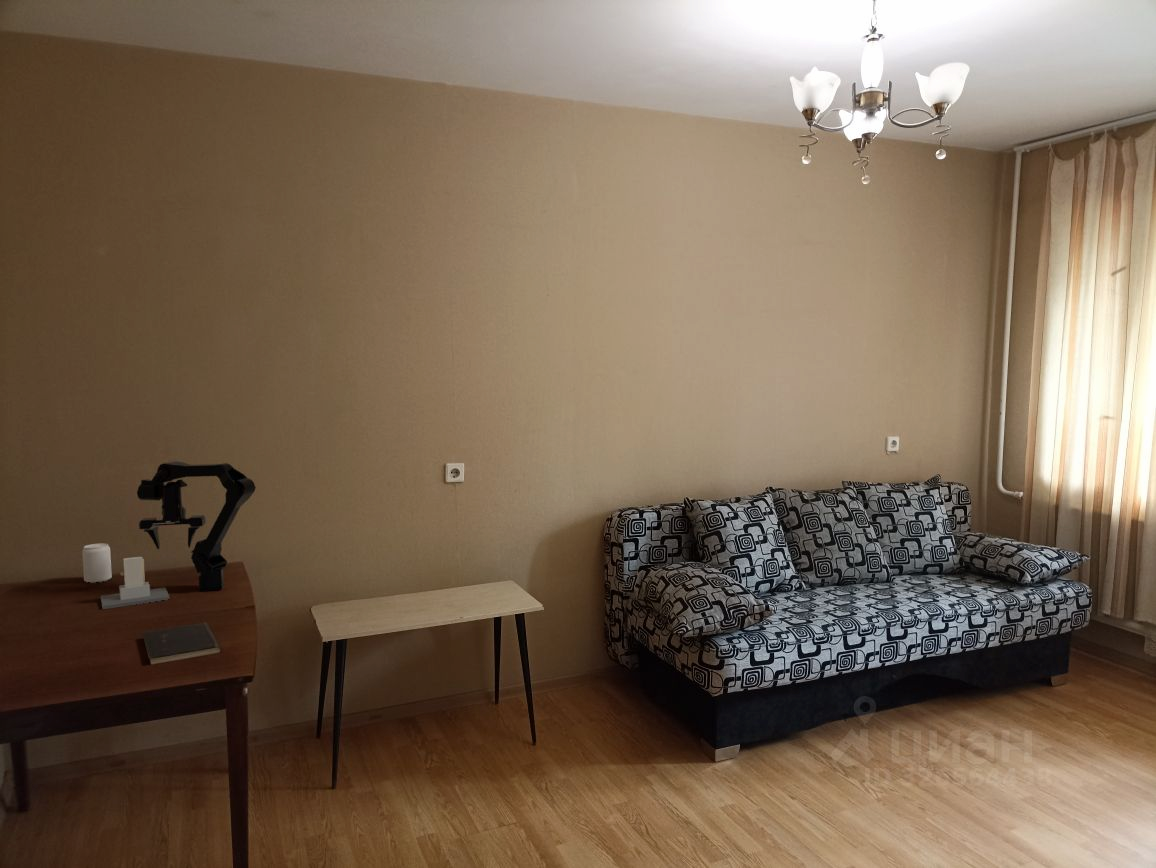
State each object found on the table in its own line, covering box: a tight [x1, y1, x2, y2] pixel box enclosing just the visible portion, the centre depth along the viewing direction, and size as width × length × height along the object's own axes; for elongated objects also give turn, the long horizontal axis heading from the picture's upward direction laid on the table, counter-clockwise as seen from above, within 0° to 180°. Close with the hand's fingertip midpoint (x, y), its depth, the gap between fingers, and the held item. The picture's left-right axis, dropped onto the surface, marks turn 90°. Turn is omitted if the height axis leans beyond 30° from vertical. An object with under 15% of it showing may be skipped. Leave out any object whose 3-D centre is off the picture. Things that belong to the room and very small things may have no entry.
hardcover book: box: [141, 622, 222, 665], centre depth 210 cm, size 16×23×2 cm
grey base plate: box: [100, 581, 171, 610], centre depth 253 cm, size 18×13×4 cm
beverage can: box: [81, 542, 113, 584], centre depth 276 cm, size 8×8×12 cm
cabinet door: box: [119, 556, 146, 588], centre depth 252 cm, size 7×2×12 cm, turn 122°
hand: (174, 548), depth 266 cm, fingers open, 9 cm apart
